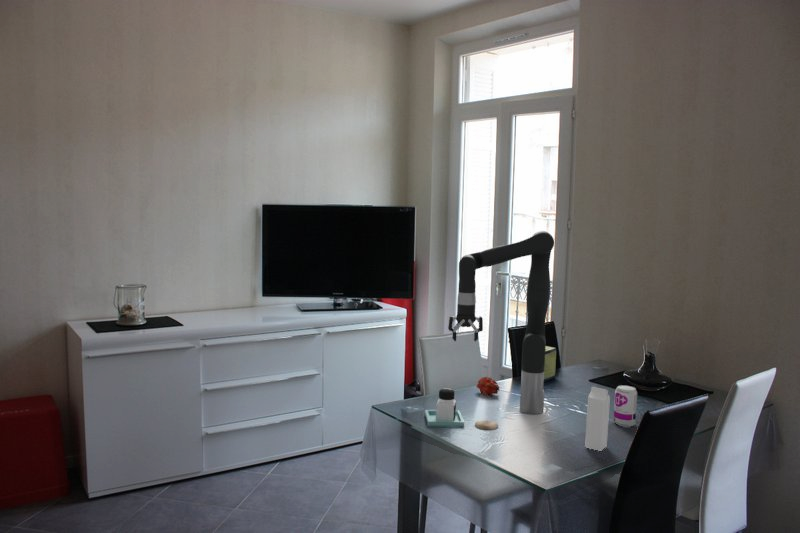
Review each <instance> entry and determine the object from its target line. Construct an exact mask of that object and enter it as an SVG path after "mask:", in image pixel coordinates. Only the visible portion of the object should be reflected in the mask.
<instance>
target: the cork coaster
mask: <svg viewBox="0 0 800 533" xmlns="http://www.w3.org/2000/svg"><path fill="white" fill-rule="evenodd" d="M474 426H475V427H476V428H477V429H479V430H480V429H481V430H484V431H494V430H497V429H498V428H499V424H498V423H497V422H495V421H492V420H477V421H476V422H474Z"/></svg>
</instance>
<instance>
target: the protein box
mask: <svg viewBox="0 0 800 533" xmlns="http://www.w3.org/2000/svg"><path fill="white" fill-rule="evenodd" d="M556 360H557V347H554V346H549V345H546V348H545V367H544V383H545V382H548V381H550V379H551V380H553V378H554V379H555V378H556V367H557V366H556V363H557V362H556Z"/></svg>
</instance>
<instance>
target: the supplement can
mask: <svg viewBox="0 0 800 533" xmlns="http://www.w3.org/2000/svg"><path fill="white" fill-rule="evenodd" d="M637 401H638V391H637V388H636V387H635V386H630V385H626V384H625V385H622V384H620V385H618V386H617V387H616V389H615V393H614V406H613V421H614V422H613V423H614V424H615V423H616V424H619V425H622V426H633V425H634V426H635V425H636V414H637V403H638V402H637ZM616 424H615V425H616ZM634 426H633V427H634Z"/></svg>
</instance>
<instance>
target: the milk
mask: <svg viewBox="0 0 800 533" xmlns="http://www.w3.org/2000/svg"><path fill="white" fill-rule="evenodd" d="M608 392H609V390H608V389H605V388H602V387H601V388H600V387H596V386H591V389H590V393H589V394H588V397H587V410H586V423H585V424H586V425H585V437H584V439H585V440H584V441H585V442H584V448H585V447H586V448H585V449H587V448H589V449H588V450H591V449H594V450H593V451H595V450H598V451H597V452H599V451H602V450H603V449H604V448H605V447H606V448H607V447H608V446H607V445H608V435H609V434H608V432H609V418H610V404H611V403H610V401H611V396H610V395H609V393H608ZM606 448H605V449H606ZM605 449H604V450H605ZM604 450H603V451H604ZM603 451H602V452H603Z"/></svg>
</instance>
